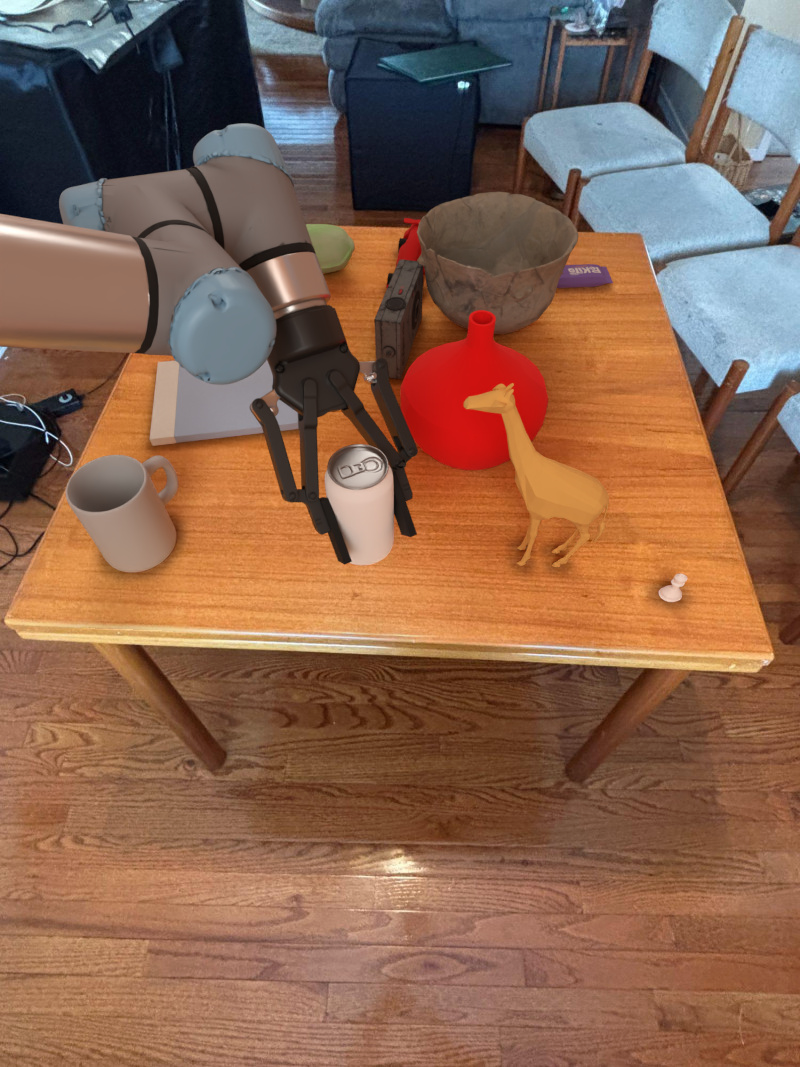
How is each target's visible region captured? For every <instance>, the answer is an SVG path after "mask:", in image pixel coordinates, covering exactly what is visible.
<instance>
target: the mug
mask: <svg viewBox="0 0 800 1067" xmlns="http://www.w3.org/2000/svg"><path fill="white" fill-rule="evenodd" d="M159 469H163V471H164V473H165V476H166V484H165V485H164V488H163V489H162V490H160V491H159V492H158V490H157V488H156V486H155V484H154V482H153V480H152V476H153V475H154V474H155V473H156V472H157V471H159ZM179 485H180V484H179V477H178V474H177V471H176V469H175V467H174V466H173V464H172V463H171V461H170V460H168V458H166V457H164V456H163V455H152V456H151V457H149V458H147V459H146V460H144V461H143V462H140V461H139V460H138V459H136V458H134V457H132V456H128V455H125V454H108V455H104V456H99V457H97V458H95V459H92V460H89V461H88V462H86V463H84V464H83V465H82V466H80V467H79V468H78V469H77V470H75V471H74V473H72V475H71V476H70V478H69V480H68V481H67V483H66V486H65V498H66V499H65V500H66V501H67V504H68V505H69V507H70V509H71V511H72V512H73V513H74V515H75V516H76V518H77V519H78V520H79V522H80V523H81V525H82V526H83V528H84V530H85V531H86V533H87V534H88V535H89V537H90V539H91V540H92V541H93V544H95V546H96V547H97V549H98V551H99V553H100V554H101V555H102V557H103V559H104V560H105V561H106V563H107V564H108V565H109V566H111V567H112V568H113V569H115V570H116V571H120V572H124V573H141V572H145V571H148V570H151V569H153V568H155V567H157V566H158V565H160V564H162V563H163V562H164V561H165V560H166V559H167V558H168V557H169V556H171V554H172V552H173V551H174V548H175V546H176V543H177V531H176V527H175V525H174V523H173V521H172V519H171V517H170V514H169V512H168V511H167V508H166V506H167V505H168V504H169V503H170V502H171V501H172V500H173V499H174V498H175V496H176V495H177V493H178V490H179Z"/></svg>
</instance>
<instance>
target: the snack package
mask: <svg viewBox="0 0 800 1067" xmlns="http://www.w3.org/2000/svg"><path fill="white" fill-rule="evenodd" d="M608 284H614V281H613V279H612V277H611V274H610V272H609V270H608V267H607V266H601V265H599V264H593V263H587V264H585V263H584V264H566V265H565V267H564V269H563V271H562V274H561V276H560V279H559V281H558V285H557V289H567V288H568V289H569V288H594V287H601V286H603V285H608Z"/></svg>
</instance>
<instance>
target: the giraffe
mask: <svg viewBox="0 0 800 1067" xmlns="http://www.w3.org/2000/svg"><path fill="white" fill-rule="evenodd" d="M513 386H514V384H513V383H512V384H510V385H508V386H507V387H506V386H505V385H504V384H499V385H497V386H496V387H494V388H493V391H490V392H486V393H483V394H480V395H476V396H469V397H468V398H467V399H466V400H465V401H464V405H463V406H464V408H465V409H473V410H479V411H485V412H491V413H499V414H502V417H503V421H504V425H505V429H506V433H507V441H508V449H509V456H510V459H511V460H510V461H511V463H512V466H513V468H514V482H515V484H516V487H517V489H518V491H519V493H520V495H521V497H522V499H523V501H524V504H525V507H526V509H527V511H528V513H529V524H528V527H527V531H526V534H525V536H524V538H523V540H522V542H521V543H520V545H518V546H516V549H517V550H519V551H524V550H526V551H525V552H524V553H523V556H522V557H521V559H520V560H518V561H516V565H518V566H520V567H523V566H524V565H526V564H527V561H529V560H530V559H531V556H532V550H533V547H534V543H535V541H536V538H537V536H538V534H539V531H538V530H539V527H540V524H541V522H542V520H549V519H553V518H558V519H565V520H567V521H569V522H571V523H572V525H573V526H574V527H575V528H576V529H575V530H574V532H573V533H572V535H571V536H569V538H568V539H566V541H565V542H564V543H562V544H560V545H559V546H557V547H556V548H554V549H552V550H551V553H552V554H555V555H557V554H561V552H563V551H566V550H567V548H568V546H569V545H570V544H571V543H572V542H573V540H575V539H576V537H578V536H579V538H578V539H577V541H576V542H575V544H574V546H573V547H572V548H571V549H570V550H569V551H568V552H567V554H566V555H564V556H563V557H561V558H559V559H558V560H557V561H554V562H553V563H552V564H551V566H552V567H553V568H561V565H567V563H568V560H569V559H570V558H571V556H573V555H574V554H575V552H576V551H577V550H578V549H579V548H581V547H582V546H583V545H584V544H585V543H587V542H588V541H589V540H590V538H591V535H590V533H589V531H590V526H591V525H592V524H593V523H594V522H595V521H596V520H597V519H598V518H599V516H601V514H602V513H603V516H602V519H601V521H599V522H598V525H597V530H596V534H595V537H594V539H593V545H594V544H595V543H596V542H597V540H598V539H599V538H600V537H601V536H602V534H603V533H604V531H605V529H606V523H605V522H604V521H605V519H606V516H607V515H608V514H607V513H608V510H609V505H610V494H609V492H608V490H607V489H606V487H605V486H604V484H603V483H602V482H601V481H600V480H599V478H597V477H595V476H593V475H591V474H590V473H587V472H585V471H583V470H580V469H579V468H576V467H573V466H569V465H568V464H564V463H562V462H559V461H557V460H554V459H551V458H549V457H547V456H544V455H543V454H541V453H540V452H539V451H538V450H536V448H535V447H534V445H533V442H532V441H531V440H530V439H529V437H528V435H527V433H526V431H525V428H524V426H523V423H522V420H521V418H520V415H519V413H518V411H517V408H516V406H515V398H514V395H513V394H512V393H513V391H514V390H513V389H512V390H511V388H512V387H513Z"/></svg>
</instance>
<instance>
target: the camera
mask: <svg viewBox="0 0 800 1067" xmlns="http://www.w3.org/2000/svg"><path fill="white" fill-rule="evenodd" d="M392 273H393V276H392V278H391V280H390V283H389V285H388V288H386V289H385V292H384V295H383V298H382V300H381V303H380V305H379V307H378V309H377V312H376V314H375V317H374V319H373V320H374V343H375V361H376V360H378V359H380V358H383V359H385V360H386V361H387V363H388V372H389V379H395V380H402V378H403V374H404V372H405V369H406V366H407V363H408V360H409V357H410V354H411V352H412V348H413V345H414V342H415V339H416V336H417V334H418V331H419V327H420V324H421V322H422V319H423V297H424V296H423V294H424V284H423V277H424V273H423V266H422V265H421V264H419V263H418V261H411V260H403V259H402V260H399V262H398V264H397V266H396V265H395V269H394V271H393V272H392Z"/></svg>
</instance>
